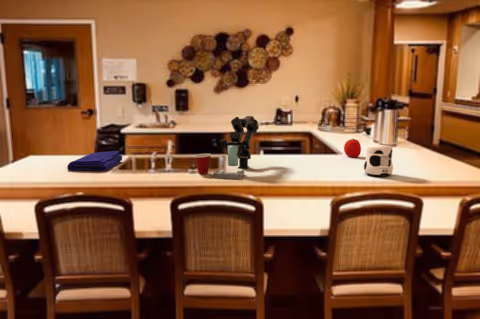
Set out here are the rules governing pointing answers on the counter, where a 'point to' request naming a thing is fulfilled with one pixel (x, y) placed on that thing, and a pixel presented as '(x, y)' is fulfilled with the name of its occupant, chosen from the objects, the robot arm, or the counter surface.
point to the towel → (96, 161)
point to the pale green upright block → (232, 155)
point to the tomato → (352, 148)
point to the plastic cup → (202, 162)
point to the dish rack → (228, 174)
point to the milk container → (378, 160)
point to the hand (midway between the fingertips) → (232, 155)
